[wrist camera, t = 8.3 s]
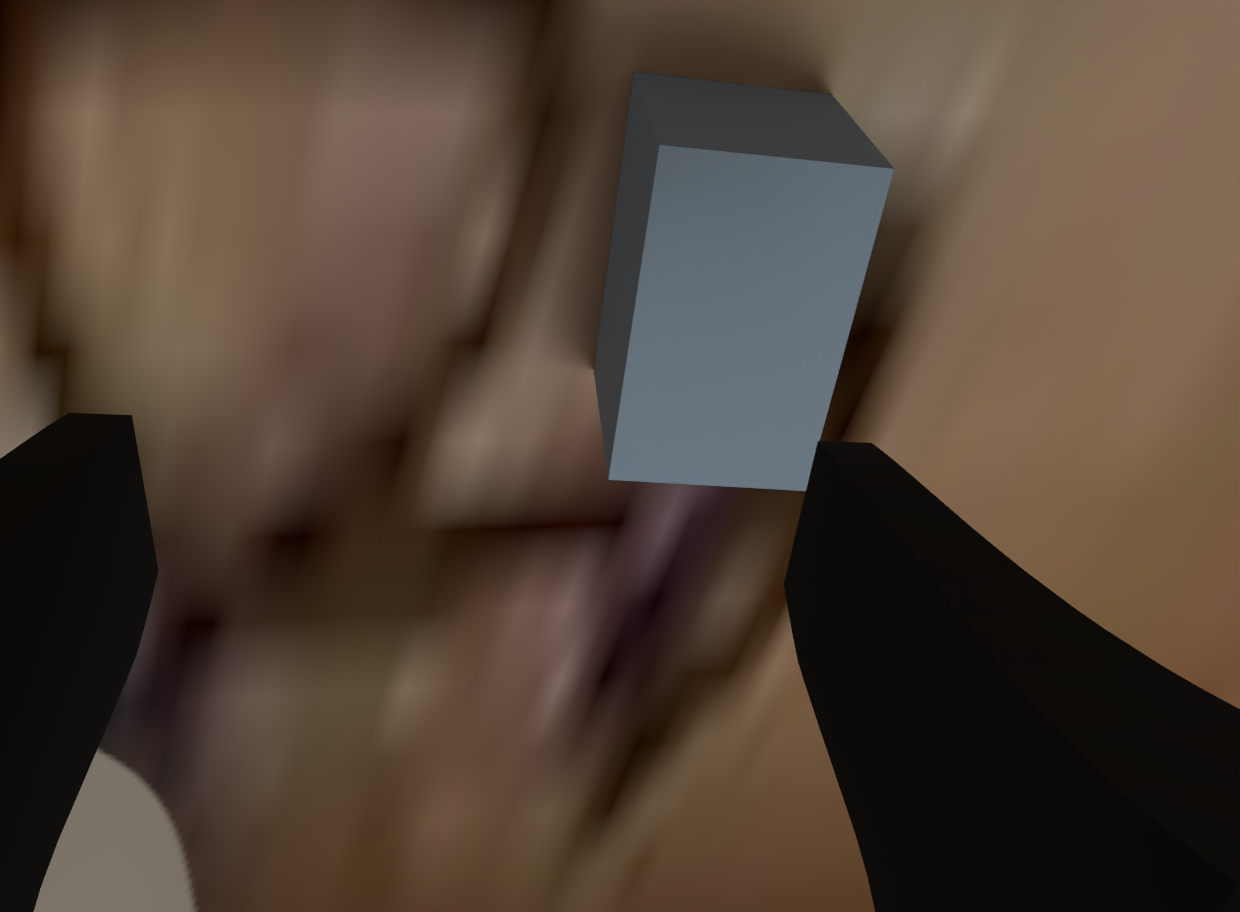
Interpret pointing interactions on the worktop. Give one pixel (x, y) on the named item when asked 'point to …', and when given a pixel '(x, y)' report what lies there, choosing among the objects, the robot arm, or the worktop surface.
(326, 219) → the worktop surface
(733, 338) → the dusty-blue brick
